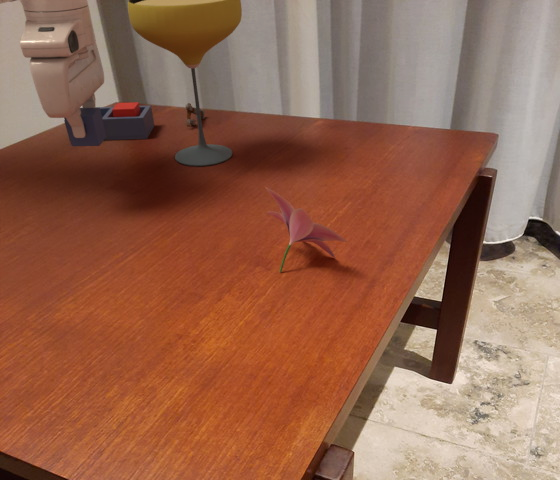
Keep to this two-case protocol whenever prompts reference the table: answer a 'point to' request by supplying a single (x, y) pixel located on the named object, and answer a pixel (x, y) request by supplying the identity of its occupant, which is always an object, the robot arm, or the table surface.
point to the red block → (126, 110)
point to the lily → (302, 226)
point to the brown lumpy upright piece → (193, 110)
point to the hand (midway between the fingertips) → (86, 130)
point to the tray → (127, 124)
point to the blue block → (89, 128)
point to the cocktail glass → (188, 48)
